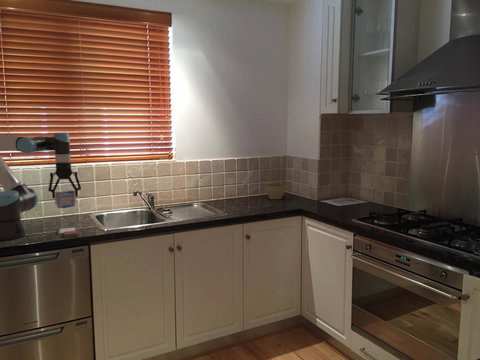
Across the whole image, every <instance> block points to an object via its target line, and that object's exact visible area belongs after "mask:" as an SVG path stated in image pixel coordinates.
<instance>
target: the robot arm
mask: <svg viewBox="0 0 480 360" xmlns="http://www.w3.org/2000/svg"><path fill="white" fill-rule="evenodd" d="M70 142H71V140H70V134H69V133H67V132H54V133H53V136H43V135H40V136H34V137H29V136H18V135H17V136H16V135H8V134H7V135H6V134H0V150H4V151H13V152H20V153H23V154H31V153H36V152H38V153H39V152H45V151H46V152H49V151H51V152H52V151H53V152H54V158H55V172H50V173H49V177H50V179H49V185H48V189H47V190H48V192H50V193H52V199H54V205H56V206H57V197H56V192H57V191H56V189H57V187H58V185H59V183H60V181H61V180H68V181H69V183H70V185H71V187H72V188H73V189H74V190H73V191H74V203H75V204H77V197H78V196H79V193H78V192H79V191H80V190H82V187H81V184H80V180H79V177H78V175H79V174H78V171H73V170H72V163H71V162H72V161H71V160H72V159H71V157H72V156H71V144H70ZM55 175H56V176H57V180H56V182H55V184H54V186H53V181H54V177H55ZM72 175H73V176H74V178H75V182H76V184H75V183H74V181H73V180H72V178H71V176H72ZM76 185H77V186H76ZM52 186H53V187H52ZM0 187H1V188H2V189H3V191H0V241H10V240H12V241H13V240H16V239H17V240H18V239H20V238H24V237H25V236H26V235H27V233H26V231H27V230H26V229H25V227H24V224H23V222H22V220H21V213H24V212H25V213H26V212H27V211H30V210H32V209H34V208H35V207H37V205H38V203H39V195H38V193H37V191H36V190H34V189H33V188H30V187H28V186H27V185H26V183H25V182H21V181H20V180H19V179H18V177H17V176H16V174H15V173H14V172H13V171H12V170H11V168H10V167H9V165H8V164H7V162H6V161H5V160H4V159H3V156H1V155H0Z"/></svg>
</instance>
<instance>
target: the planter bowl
mask: <svg viewBox="0 0 480 360" xmlns="http://www.w3.org/2000/svg"><path fill="white" fill-rule="evenodd" d="M264 187H265V188H264V189H265V192H266V194H267V196H268V198H269V199H270V200H281V199H283V196H284V195H285V193H286V189H287V184H286V183H281V182H277V183H276V182H271V183H266V184H264Z"/></svg>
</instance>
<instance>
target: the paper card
mask: <svg viewBox="0 0 480 360" xmlns="http://www.w3.org/2000/svg"><path fill="white" fill-rule="evenodd" d="M76 230H77V231H78V226H76V225H75V226H65V227H58V229H57V235H64V232H66V231H76Z"/></svg>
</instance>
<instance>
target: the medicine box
mask: <svg viewBox="0 0 480 360" xmlns="http://www.w3.org/2000/svg"><path fill="white" fill-rule="evenodd" d="M74 191H75V190H73V189H72V190H71V189H69V190H63V191H61V190H60V191H55V192H56V197H57V205H56V207H57V208H58V209H63V210H64V209H66V208H71V207H75V206H76V205H75V204H76V203H74Z"/></svg>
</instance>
